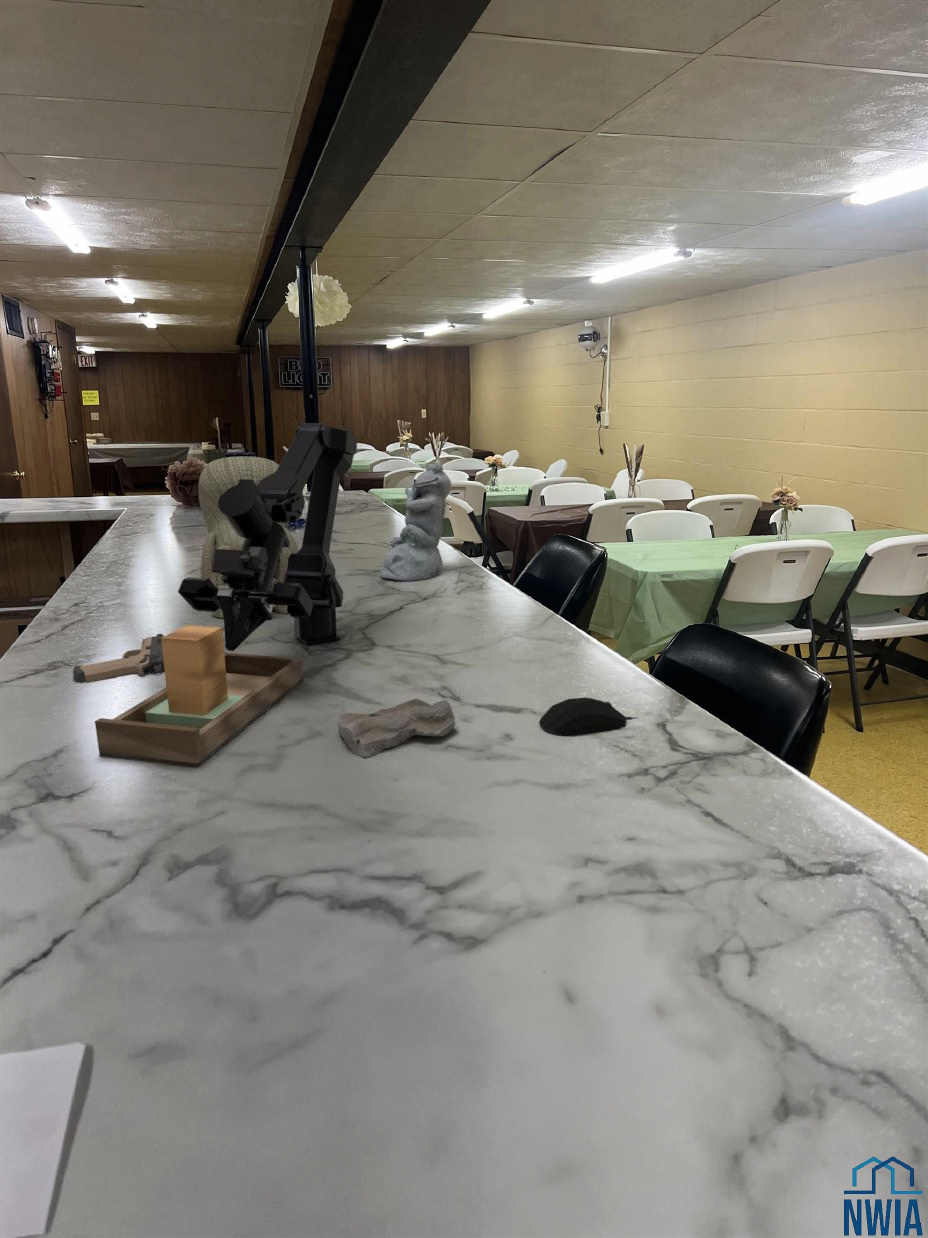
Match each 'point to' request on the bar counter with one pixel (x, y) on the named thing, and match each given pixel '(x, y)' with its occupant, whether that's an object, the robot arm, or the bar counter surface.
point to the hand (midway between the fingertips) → (229, 649)
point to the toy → (221, 533)
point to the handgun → (126, 663)
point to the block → (195, 669)
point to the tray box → (191, 746)
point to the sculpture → (420, 529)
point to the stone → (394, 725)
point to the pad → (165, 717)
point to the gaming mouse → (582, 717)
